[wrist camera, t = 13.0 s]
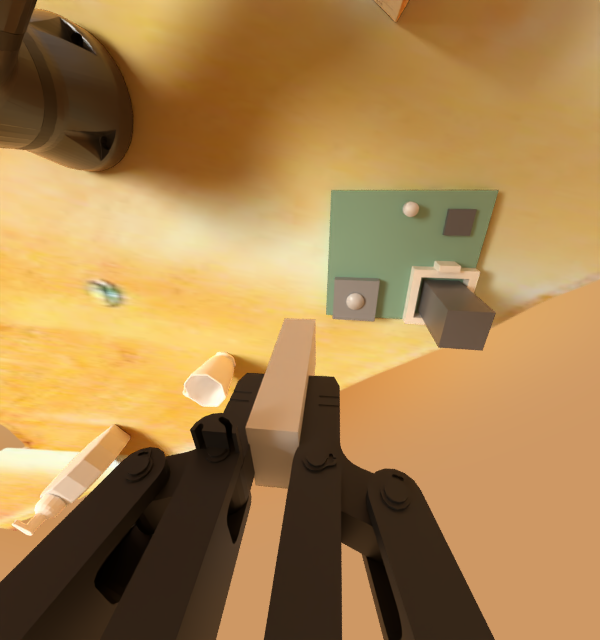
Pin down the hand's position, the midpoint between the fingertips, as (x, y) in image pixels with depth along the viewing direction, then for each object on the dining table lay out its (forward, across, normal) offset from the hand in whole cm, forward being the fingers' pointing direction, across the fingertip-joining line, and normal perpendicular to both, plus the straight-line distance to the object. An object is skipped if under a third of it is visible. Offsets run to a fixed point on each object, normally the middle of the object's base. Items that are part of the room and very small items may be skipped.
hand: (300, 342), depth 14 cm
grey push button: (+27, +6, -9) cm, 29 cm away
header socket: (+25, +16, -8) cm, 31 cm away
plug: (+25, +16, -8) cm, 31 cm away
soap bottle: (+27, -51, -47) cm, 75 cm away
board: (+27, +10, -3) cm, 29 cm away
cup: (+27, -19, -23) cm, 40 cm away
